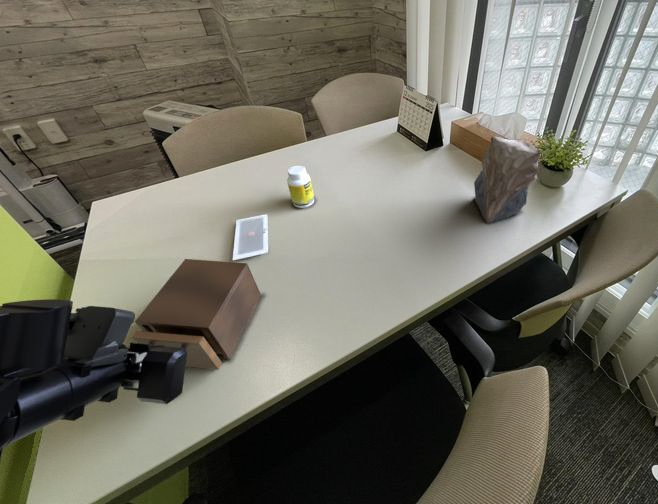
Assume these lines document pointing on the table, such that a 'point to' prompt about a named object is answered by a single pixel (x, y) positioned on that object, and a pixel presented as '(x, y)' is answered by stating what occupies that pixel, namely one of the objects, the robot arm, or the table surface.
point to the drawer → (184, 344)
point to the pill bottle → (300, 187)
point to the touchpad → (251, 237)
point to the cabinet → (206, 301)
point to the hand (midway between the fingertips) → (162, 348)
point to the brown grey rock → (505, 178)
